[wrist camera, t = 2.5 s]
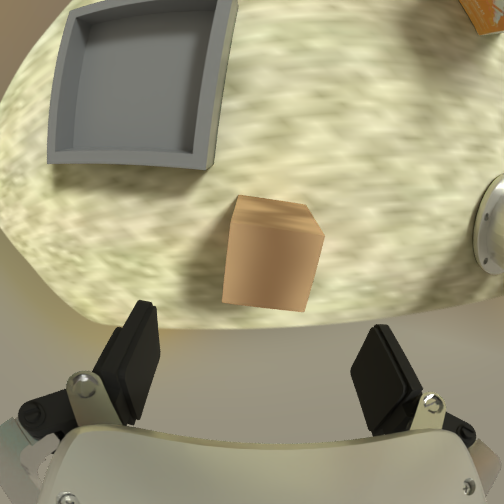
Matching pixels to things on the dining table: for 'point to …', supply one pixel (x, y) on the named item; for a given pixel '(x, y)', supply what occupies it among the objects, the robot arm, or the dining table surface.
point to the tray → (141, 83)
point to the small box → (485, 15)
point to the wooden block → (271, 254)
